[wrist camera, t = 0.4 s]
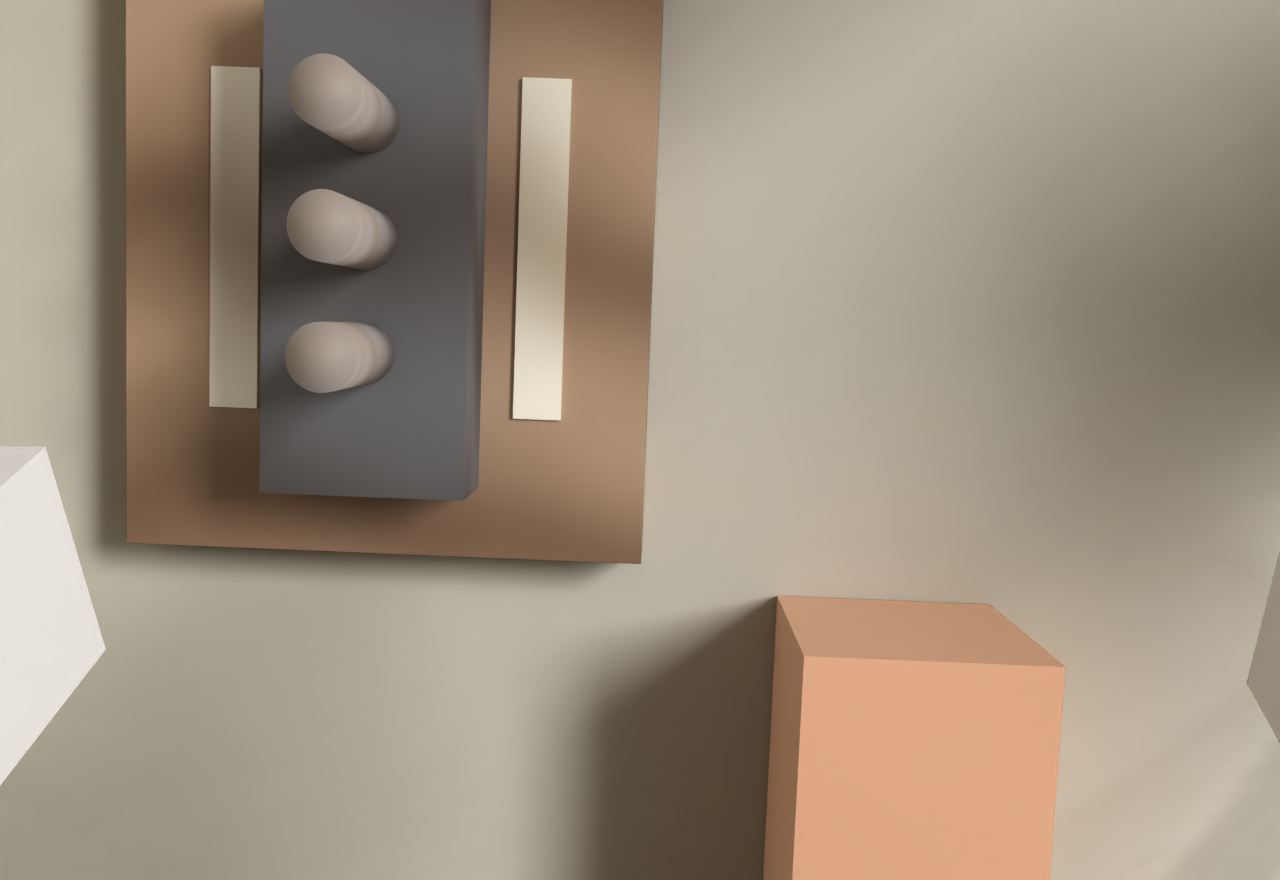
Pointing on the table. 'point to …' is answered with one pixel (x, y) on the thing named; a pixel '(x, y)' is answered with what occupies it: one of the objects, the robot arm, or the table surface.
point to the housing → (910, 743)
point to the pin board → (521, 459)
